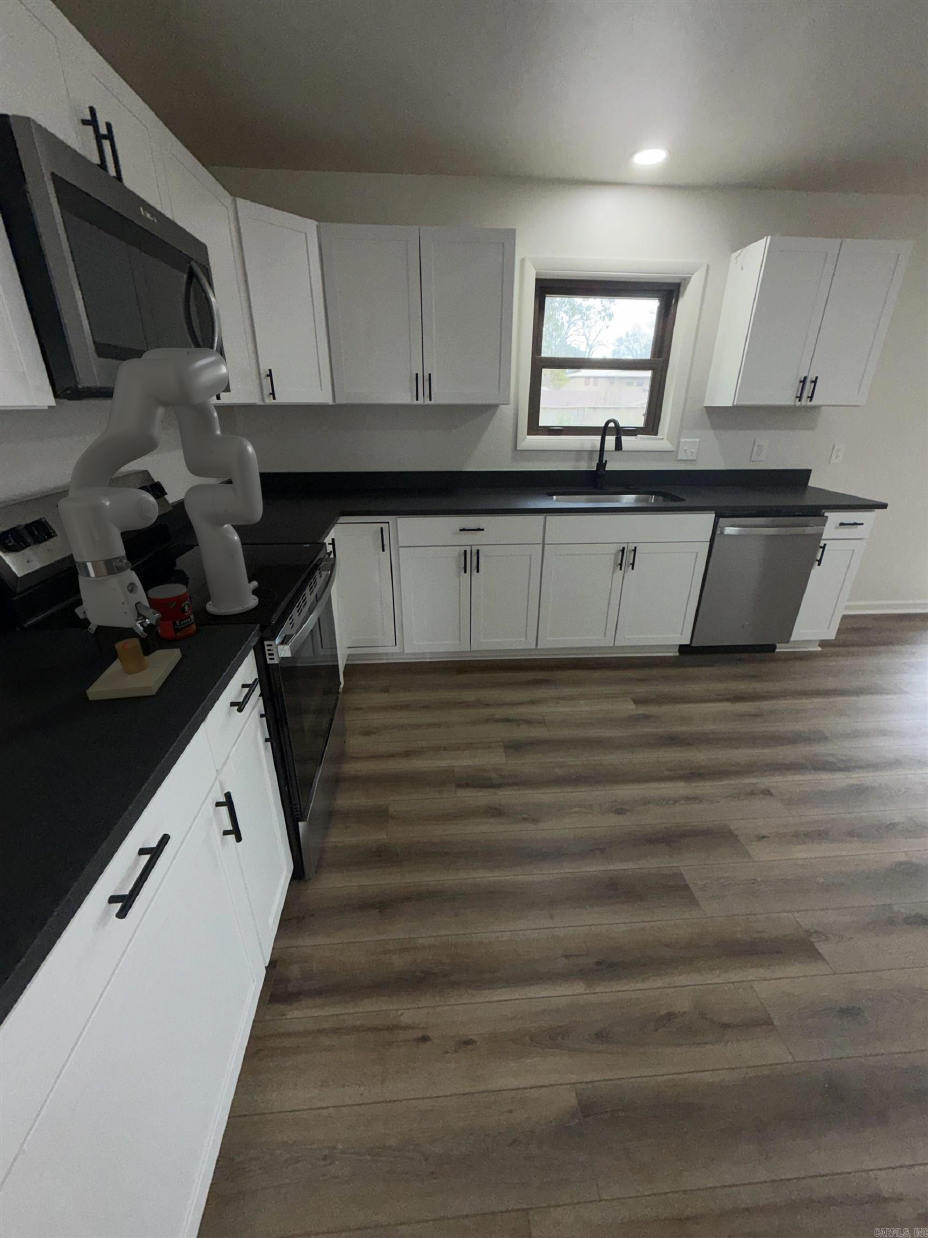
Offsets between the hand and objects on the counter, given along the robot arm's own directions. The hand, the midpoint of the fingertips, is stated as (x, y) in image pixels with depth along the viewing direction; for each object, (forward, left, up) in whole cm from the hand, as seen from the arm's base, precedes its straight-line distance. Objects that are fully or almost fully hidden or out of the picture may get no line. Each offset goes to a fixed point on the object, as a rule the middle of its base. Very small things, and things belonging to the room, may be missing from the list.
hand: (129, 651), depth 95 cm
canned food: (-19, -6, -6) cm, 21 cm away
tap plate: (0, 0, -6) cm, 6 cm away
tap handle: (0, 0, -4) cm, 4 cm away
